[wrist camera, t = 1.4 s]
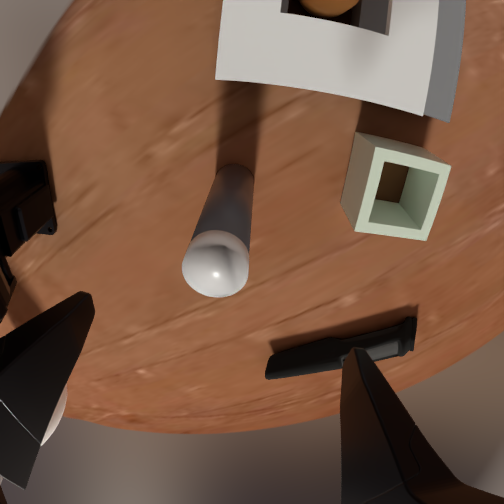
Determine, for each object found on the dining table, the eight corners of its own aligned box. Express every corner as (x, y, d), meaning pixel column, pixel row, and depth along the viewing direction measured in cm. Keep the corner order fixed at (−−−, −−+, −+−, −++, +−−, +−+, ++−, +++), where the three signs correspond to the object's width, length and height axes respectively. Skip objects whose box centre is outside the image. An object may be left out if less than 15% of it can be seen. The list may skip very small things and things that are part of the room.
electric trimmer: (261, 342, 30) (260, 368, 28) (416, 311, 27) (426, 334, 25) (269, 364, 32) (269, 389, 29) (413, 336, 29) (421, 359, 27)
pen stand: (340, 203, 21) (354, 231, 18) (355, 131, 19) (375, 146, 15) (404, 213, 22) (426, 240, 18) (422, 147, 19) (451, 166, 15)
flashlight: (213, 198, 22) (182, 293, 13) (215, 161, 20) (181, 239, 12) (252, 202, 22) (245, 300, 13) (256, 165, 20) (251, 246, 12)
